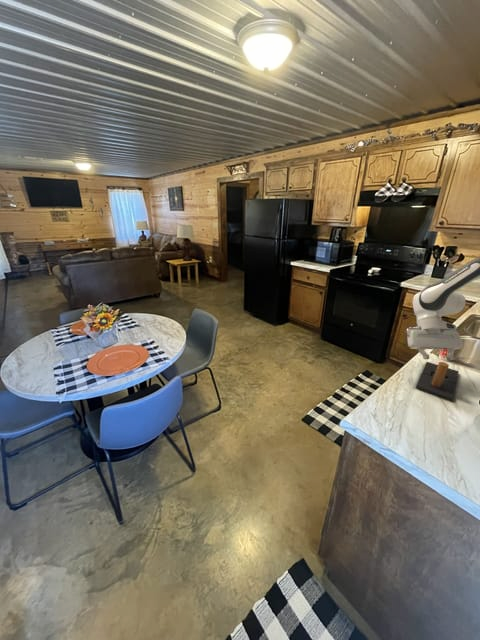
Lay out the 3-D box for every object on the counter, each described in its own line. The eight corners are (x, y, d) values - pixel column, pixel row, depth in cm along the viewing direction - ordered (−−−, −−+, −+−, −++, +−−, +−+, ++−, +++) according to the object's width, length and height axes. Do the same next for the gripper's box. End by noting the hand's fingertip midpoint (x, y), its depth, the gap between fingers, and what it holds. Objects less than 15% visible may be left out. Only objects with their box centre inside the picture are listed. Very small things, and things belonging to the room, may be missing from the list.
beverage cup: (455, 361, 127) (465, 335, 121) (443, 362, 126) (453, 336, 120) (445, 354, 132) (454, 329, 127) (433, 355, 132) (442, 330, 126)
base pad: (425, 364, 124) (426, 361, 124) (457, 374, 117) (458, 371, 116) (421, 375, 116) (422, 372, 115) (455, 386, 109) (456, 383, 108)
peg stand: (422, 372, 118) (429, 349, 114) (455, 383, 111) (464, 359, 106) (415, 388, 107) (423, 364, 103) (451, 401, 100) (461, 376, 95)
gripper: (409, 324, 109) (417, 356, 104) (460, 325, 108) (470, 358, 103) (401, 329, 115) (407, 360, 110) (449, 330, 114) (458, 361, 109)
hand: (438, 359), depth 106 cm, fingers open, 8 cm apart
